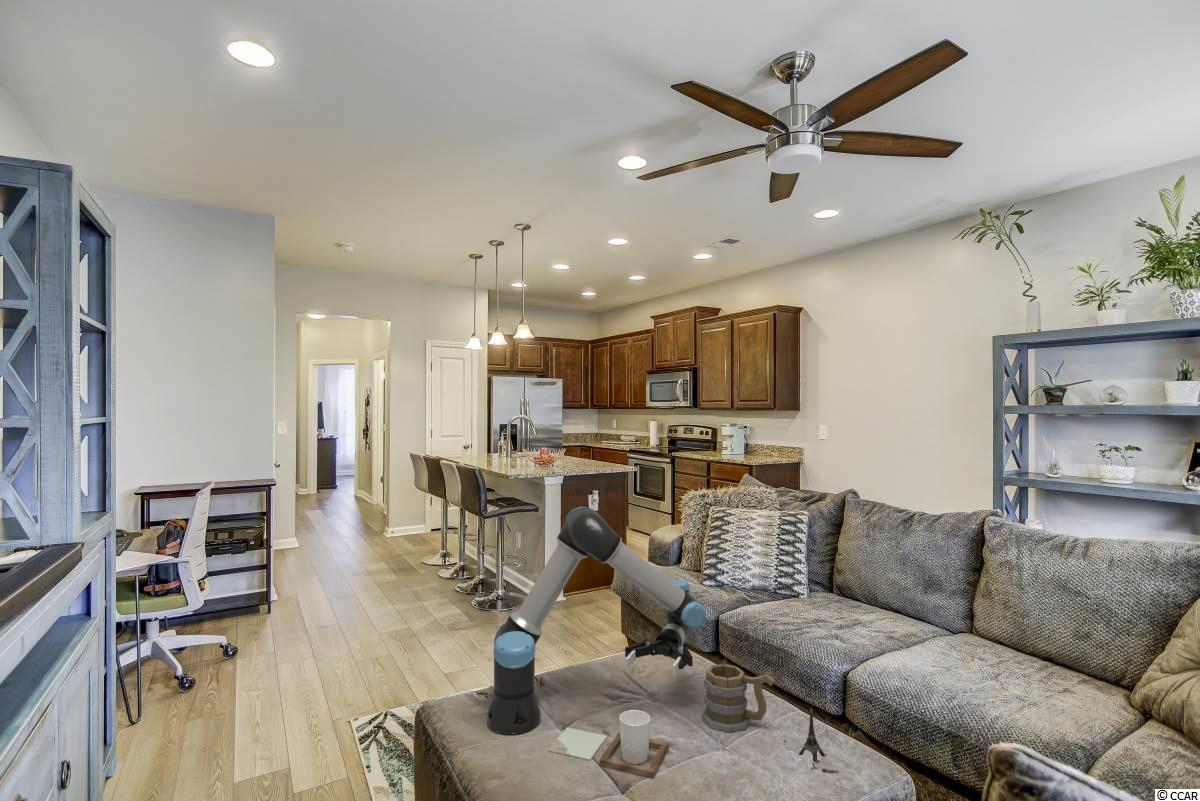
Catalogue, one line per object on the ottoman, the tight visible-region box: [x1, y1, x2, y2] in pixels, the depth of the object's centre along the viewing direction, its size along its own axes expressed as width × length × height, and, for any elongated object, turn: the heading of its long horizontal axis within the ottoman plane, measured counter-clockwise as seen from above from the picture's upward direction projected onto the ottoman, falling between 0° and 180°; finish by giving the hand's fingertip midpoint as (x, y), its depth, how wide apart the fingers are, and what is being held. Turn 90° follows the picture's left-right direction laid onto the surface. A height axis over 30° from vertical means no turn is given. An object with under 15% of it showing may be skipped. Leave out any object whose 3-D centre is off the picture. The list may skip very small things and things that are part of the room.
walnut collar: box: [598, 731, 670, 779], centre depth 149 cm, size 14×14×2 cm
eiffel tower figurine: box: [798, 707, 839, 774], centre depth 150 cm, size 15×10×13 cm
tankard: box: [701, 663, 775, 733], centre depth 166 cm, size 20×13×15 cm, turn 62°
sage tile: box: [556, 727, 608, 762], centre depth 155 cm, size 12×12×1 cm
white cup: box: [619, 709, 651, 765], centre depth 149 cm, size 8×8×10 cm
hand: (650, 667), depth 161 cm, fingers open, 13 cm apart
